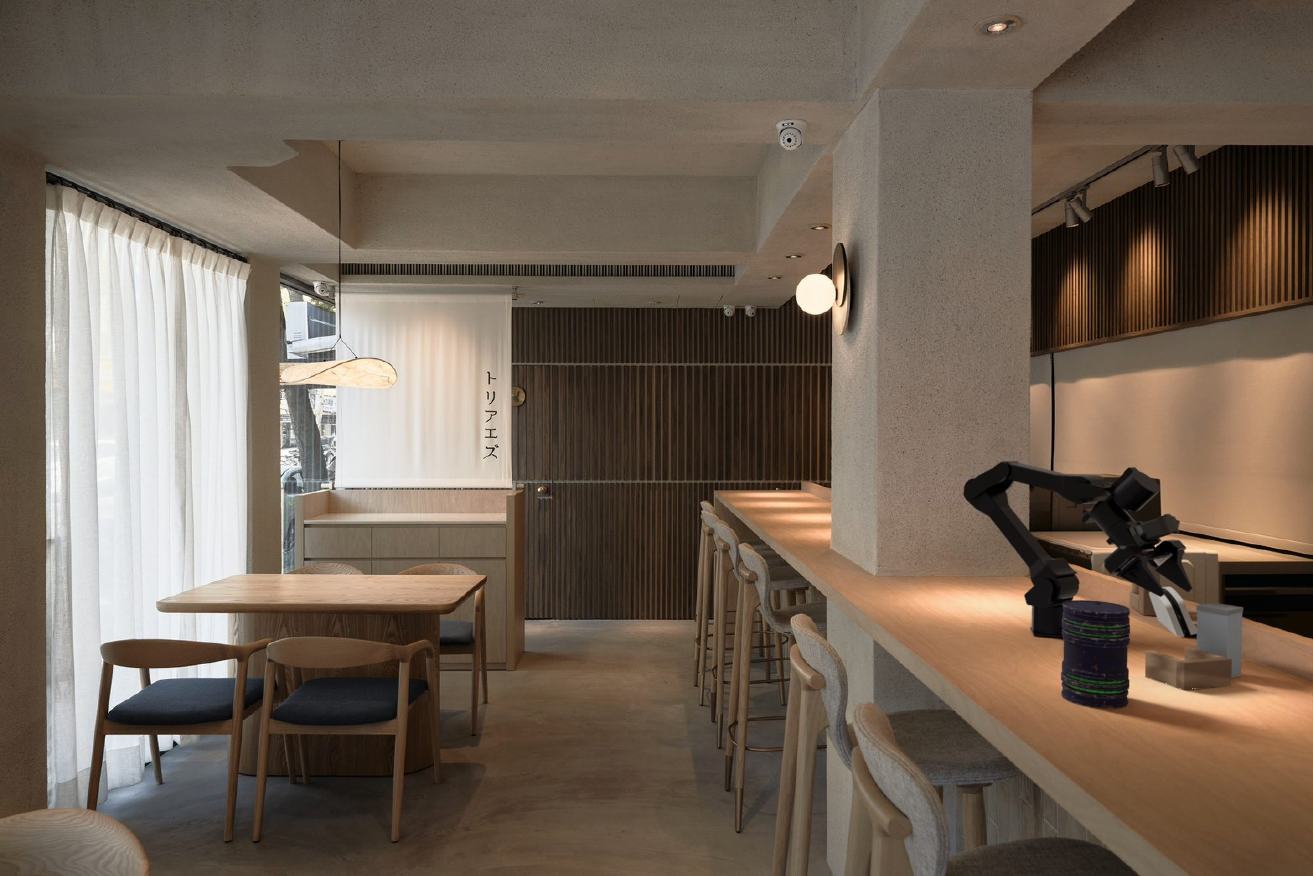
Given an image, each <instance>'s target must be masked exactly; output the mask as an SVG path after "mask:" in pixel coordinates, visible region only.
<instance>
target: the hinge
mask: <svg viewBox="0 0 1313 876" xmlns="http://www.w3.org/2000/svg"><path fill="white" fill-rule="evenodd" d="M1161 587H1162V588H1163V590H1164V592H1165V594H1164V595H1163V596H1162V597H1159V596H1157V595H1156V594H1154V593H1152V592H1149V596H1150V598H1151V601H1152V604H1153V607H1154V610H1155V613H1156V615H1157V616H1156V617H1157V620H1158V621H1159V623H1161V624H1162V625H1163V626H1164V627H1165V628H1166V629H1168V631H1170V632H1171V633H1172V634H1173V635H1174V636H1175V637H1177V636H1181V637H1180V638H1184V637H1185V636H1186V635H1190V636H1193V635H1197V625H1195V624H1194V623H1193V620H1192V617H1191V616H1190V612H1189V610H1188V608H1187V606H1186V603H1185V601H1184V599H1183V598H1182V597H1181V596H1180V594H1179V593H1178V592H1177V591H1176V590H1175V589H1174V588H1173V587H1171V586H1161Z"/></svg>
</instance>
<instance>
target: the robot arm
mask: <svg viewBox="0 0 1313 876" xmlns="http://www.w3.org/2000/svg"><path fill="white" fill-rule="evenodd" d="M1015 482H1016V483H1020V484H1024V485H1028V486H1032V487H1034V488H1039V489H1040V488H1041V489H1044V490H1048V491H1052V492H1054V493H1056V494H1057V495H1058V496H1060V498H1062V499H1065V500H1067V501H1069V502H1071V503H1073V504H1076V505H1086V504H1088V505H1089V504H1094V505H1092V507H1090V509H1089V508H1087V509H1083V510H1082V517H1081V521H1080V522H1081V523H1082V524H1090V523H1091V524H1092V523H1096V524H1097V526H1098V527H1099V528H1100V530H1102V532H1103V533H1104V534H1105V535H1106V536H1107V539H1106V541H1105V542H1106V543H1107V545H1109V546H1112V545H1114V546H1115V547H1116V549H1115V550H1114V551H1112V552H1111V553H1110V554H1109V555H1108V556H1107V557H1106V558H1105V559H1104V560H1103V561H1104V562H1103V567H1104V569H1105V570H1106V571H1107V572H1108V573H1109V575H1116V577H1118V578H1122V580H1123V579H1124V580H1125V581H1128V582H1130V583H1131V584H1132V583H1134V584H1136V585H1138V586H1140V587H1142V588H1144V589H1146V590H1148V591H1150V592H1152V593H1154V594H1156V595H1157V596H1159V597H1162V596H1163V595H1164V594H1165V592H1164V590H1163V588H1162V587H1163V586H1162V585H1161V583H1160V584H1159V582H1158V581H1157V580H1156V578H1155V577H1154V575H1153V574H1152V573H1151V571H1150V570H1149V568H1148V566H1147V561H1148V563H1149V564H1150V565H1151V566H1153V567H1155V568H1156V569H1155V571H1156V572H1158V573H1159V574H1160V576H1163V577H1164V578H1165V579H1167V580H1169V581H1170V582H1171V583H1173V584H1174V585H1176V586H1177V587H1178V588H1180V589H1182V590H1183V591H1185V592H1187V593H1189V592H1190V591H1192V590H1193V587H1192V584H1191V582H1190V579H1189V577H1188V575H1187V572H1186V570H1185V567H1184V566H1183V556H1184V555H1185V553H1186V549H1187V547H1186V546H1185V545H1184V543H1183V542H1182V541H1181V540H1179V539H1174V538H1173V539H1163V540H1162V539H1161V538H1163V537H1166V536H1170V535H1171V534H1173V535H1175V534H1178V533H1180V529H1179V527H1180V524H1181V521H1180V520H1178V519H1177V518H1176V516H1173V515H1172V514H1171V513H1164V514H1163V515H1159V516H1158V517H1156V518H1155V519H1151V520H1148V521H1146V522H1144V521H1141V520H1135V519H1134V518H1133V517H1132V516H1131V514H1129V512H1130V511H1132V512H1138V511H1140V510H1141V509H1142V508H1144V506H1145V505H1146V504H1148V502H1150V501H1151V500H1152V499H1153V498H1154V497H1155V496H1156V495H1157V494H1158V493H1159V492H1160V491H1161V488H1160V485H1159V484H1158V482H1157V481H1156V480H1155V479H1154V478H1152V477H1150V476H1149V475H1147V473H1144V472H1143V471H1140V470H1139V469H1137V468H1136V466H1135V467H1134V466H1133V467H1131V466H1130V467H1127V468H1126V469H1125V470H1124V472H1123V473H1122V474H1121V475H1120V476H1119V477H1117V479H1116V480H1115V481H1114V482H1110V481H1106V478H1105V477H1103V476H1101V475H1098V474H1088V473H1087V474H1083V473H1081V474H1080V473H1077V474H1076V473H1065V472H1064V473H1063V472H1059V471H1055V470H1050V469H1047V468H1043V467H1038V466H1035V465H1034V466H1033V465H1029V464H1025V463H1021V462H1019V461H1017V460H1002V461H1000V462H999V463H997V464H995V465H994V466H993V467H991V468H990V469H988V470H986V471H984V472H983V473H980V474H979V475H977V476H976V477H974V478H970V479H968V480H966V482H965V484H964V486H963V492H962V494H963V497H964V499H965V501H966V502H968V503H969V504H970V505H971V506H972V507H973V508H974V509H975V510H977V511H979V512H980V513H982V514H984V515H985V516H987V517H988V518H989V519H990V520H991V521H992V523H994V525H995V526H996V528H997V529H998V530H999V531H1000V533H1001V534H1002V535H1003V537H1004V538H1005V539H1006V540H1007V542H1008V543H1009V544H1010V545H1011V547H1012V548H1013V549H1014V550H1015V552H1016V553H1017V555H1018V556H1019V557H1020V558H1021V559H1022V561H1023V562H1024V563H1025V565H1026V566H1027V568H1028V569H1029V576H1030V577H1029V578H1030V582H1031V583H1032V585H1033V586H1032V587H1031V588H1030V589H1029V590H1028V591H1027V592H1026V593H1024V595H1023V596H1024V600H1025V603H1026V605H1027V606H1031V626H1030V627H1029V630H1030V631H1031V633H1032V636H1035V637H1045V636H1049V637H1050V638H1060V637H1062V628H1063V627H1062V619H1063V611H1064V609H1063V603H1064V602H1066V601H1073V600H1074V597H1076V596H1077V594H1078V592H1079V590H1080V584H1081V583H1080V580H1079V578H1078V576H1077V575H1076V574H1078V572H1077V571H1076V570H1074V569H1073V568H1072V567H1071V565H1070V563H1069V562H1068V560H1067V559H1065V558H1064V557H1060V558H1059V557H1058V558H1053V557H1051V556H1050V555H1049V554H1048V552H1047V551H1046V550H1045V549H1044V547H1043V546H1042V545H1041V544H1040V543H1039V542H1038V540H1037V538H1035V536H1034V535H1033V534H1032V532H1030V530H1029V529H1028V527H1027V526H1026V525H1025V524H1024V522H1022V519H1020V517H1019V516H1018V515H1017V513H1016V512H1015V511H1014V510H1013V508H1012V507H1011V506H1010V503H1009V497H1008V493H1007V491H1008V490H1009V489H1011V487H1012V486H1013V484H1014V483H1015Z"/></svg>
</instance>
